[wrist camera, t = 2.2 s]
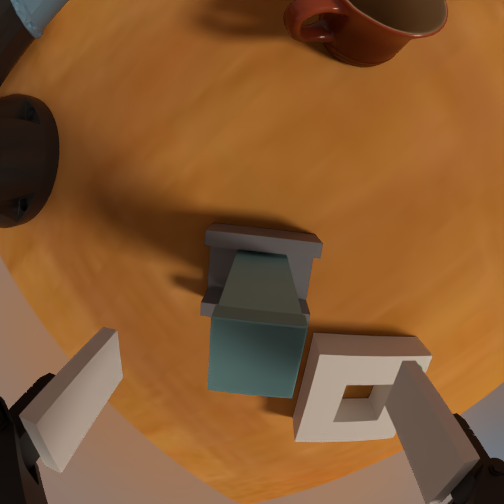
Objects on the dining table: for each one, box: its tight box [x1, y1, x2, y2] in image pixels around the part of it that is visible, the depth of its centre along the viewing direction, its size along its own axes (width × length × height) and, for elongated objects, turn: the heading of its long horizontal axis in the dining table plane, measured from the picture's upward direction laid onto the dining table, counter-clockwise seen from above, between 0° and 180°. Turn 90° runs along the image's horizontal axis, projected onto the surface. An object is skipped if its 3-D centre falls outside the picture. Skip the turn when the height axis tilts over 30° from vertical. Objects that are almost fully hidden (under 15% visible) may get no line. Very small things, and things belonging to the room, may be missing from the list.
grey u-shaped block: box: [200, 223, 323, 323], centre depth 26 cm, size 9×7×4 cm
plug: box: [208, 249, 308, 398], centre depth 20 cm, size 4×4×14 cm
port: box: [293, 333, 433, 442], centre depth 28 cm, size 12×12×5 cm
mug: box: [283, 0, 448, 67], centre depth 17 cm, size 12×9×10 cm
